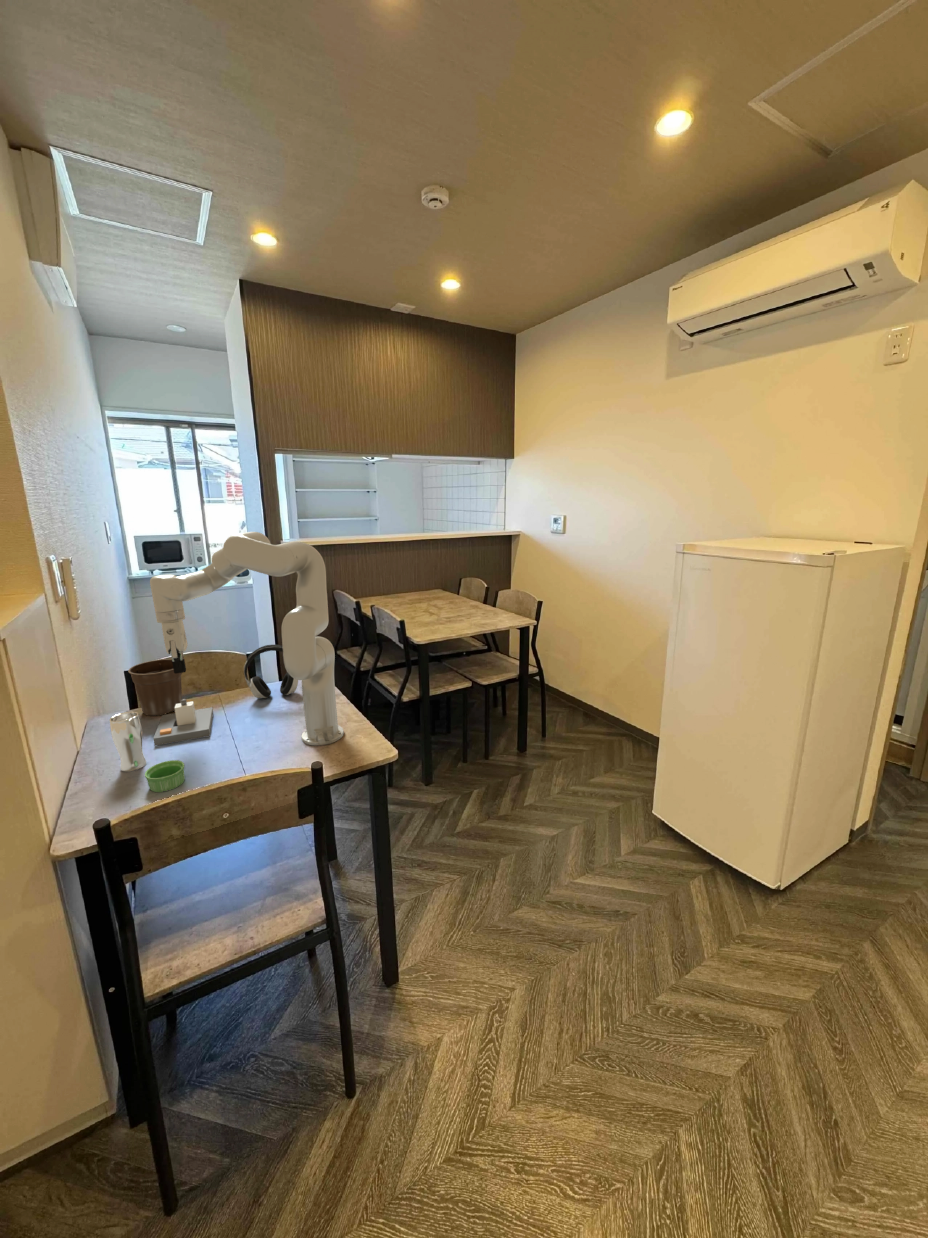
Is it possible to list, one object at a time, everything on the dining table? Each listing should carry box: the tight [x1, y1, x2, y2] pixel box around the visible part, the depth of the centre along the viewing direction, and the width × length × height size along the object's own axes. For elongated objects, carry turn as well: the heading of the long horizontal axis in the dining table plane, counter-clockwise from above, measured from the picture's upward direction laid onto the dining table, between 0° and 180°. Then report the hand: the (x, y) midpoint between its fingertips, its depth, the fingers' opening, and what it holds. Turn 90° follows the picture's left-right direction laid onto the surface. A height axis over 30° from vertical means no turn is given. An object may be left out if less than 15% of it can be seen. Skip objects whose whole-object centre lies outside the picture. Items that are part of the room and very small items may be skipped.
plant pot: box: [127, 658, 183, 717], centre depth 175 cm, size 16×16×16 cm
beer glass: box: [109, 711, 147, 773], centre depth 138 cm, size 7×7×15 cm
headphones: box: [243, 644, 299, 699], centre depth 184 cm, size 19×8×20 cm, turn 112°
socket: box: [153, 706, 214, 746], centre depth 161 cm, size 18×15×3 cm
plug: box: [174, 698, 196, 726], centre depth 161 cm, size 4×5×10 cm
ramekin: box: [144, 759, 186, 793], centre depth 130 cm, size 9×9×4 cm
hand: (180, 672), depth 157 cm, fingers closed
